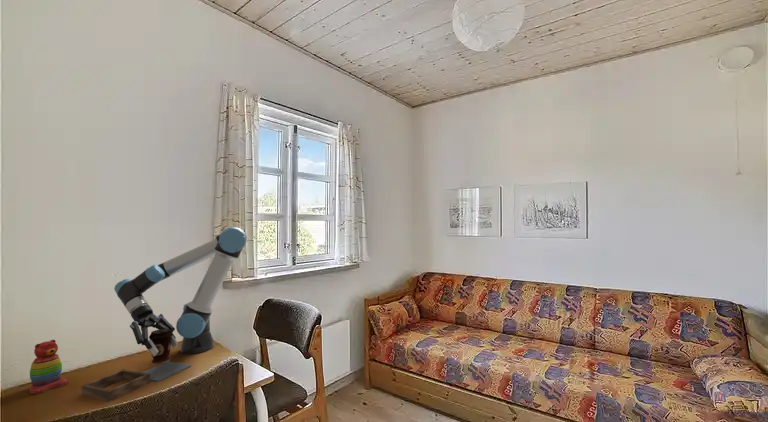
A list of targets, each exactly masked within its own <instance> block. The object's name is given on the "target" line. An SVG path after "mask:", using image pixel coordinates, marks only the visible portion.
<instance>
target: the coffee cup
mask: <svg viewBox="0 0 768 422" xmlns="http://www.w3.org/2000/svg"><path fill="white" fill-rule="evenodd" d="M173 334H174V333H172V332H171V330H170V329H161V330H158V329H156V330H152V331H151V333H150V335H148V339H149V340H150V339H151V340H152V342H153V343H154V345H155V346H156V348H157V349H158V351H159V352H158V353H157V354H156V356H153V354H152V353H151V352H150V353H151V357H152V360H151V362H152V364H158V365H159V364H163V363H166V362H170V361H171V358H170V354H171V353H170V352H171V349H172V345H171V338H172V335H173Z"/></svg>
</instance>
